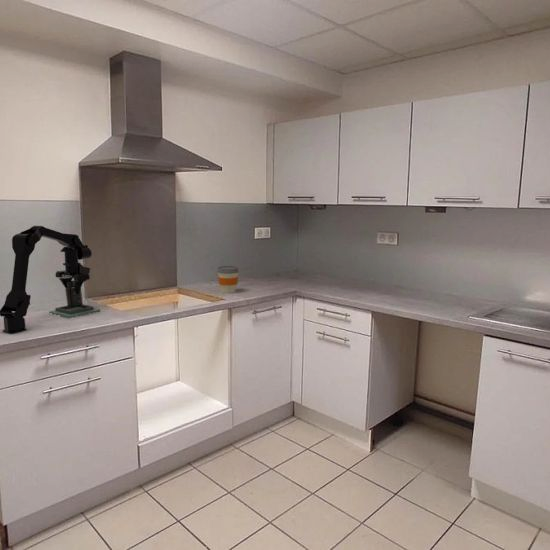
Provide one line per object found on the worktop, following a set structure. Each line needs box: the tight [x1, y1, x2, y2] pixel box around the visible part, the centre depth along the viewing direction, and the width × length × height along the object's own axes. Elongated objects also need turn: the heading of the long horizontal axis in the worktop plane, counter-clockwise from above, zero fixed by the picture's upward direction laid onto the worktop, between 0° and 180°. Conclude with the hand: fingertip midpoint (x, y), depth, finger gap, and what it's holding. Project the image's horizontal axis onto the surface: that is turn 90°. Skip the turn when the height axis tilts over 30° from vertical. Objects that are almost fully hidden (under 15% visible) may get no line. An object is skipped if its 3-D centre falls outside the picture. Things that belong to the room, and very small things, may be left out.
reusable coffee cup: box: [217, 265, 239, 294], centre depth 259 cm, size 13×13×15 cm
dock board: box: [48, 303, 101, 319], centre depth 206 cm, size 16×16×2 cm
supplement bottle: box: [64, 280, 84, 307], centre depth 205 cm, size 7×7×12 cm
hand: (73, 293), depth 205 cm, fingers closed on supplement bottle, 7 cm apart
